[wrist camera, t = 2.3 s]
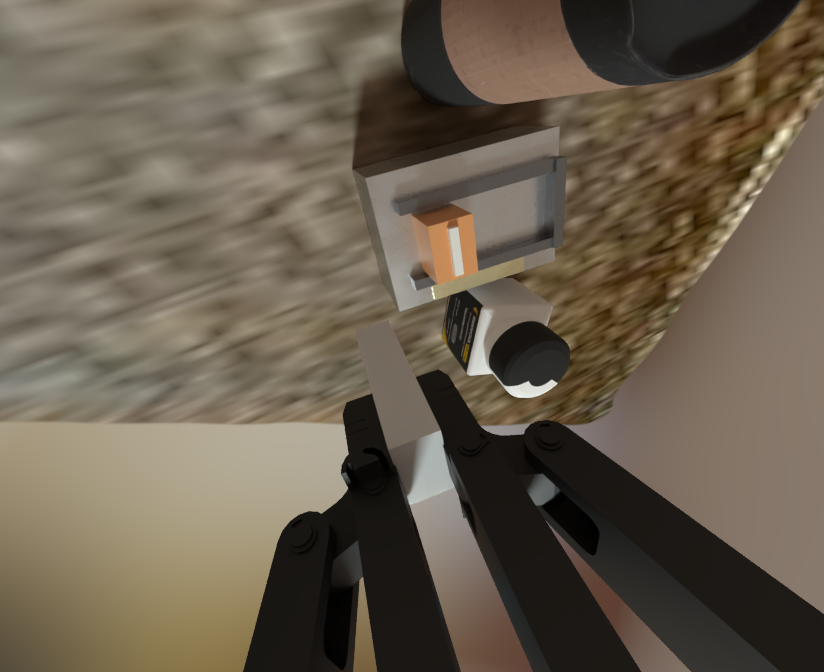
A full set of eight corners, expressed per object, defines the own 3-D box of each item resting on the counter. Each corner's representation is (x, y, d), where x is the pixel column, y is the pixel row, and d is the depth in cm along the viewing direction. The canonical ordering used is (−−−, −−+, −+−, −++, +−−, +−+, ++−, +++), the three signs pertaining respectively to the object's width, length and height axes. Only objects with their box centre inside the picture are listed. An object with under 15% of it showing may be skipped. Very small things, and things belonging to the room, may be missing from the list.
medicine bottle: (451, 276, 34) (515, 336, 24) (513, 276, 36) (595, 332, 26) (440, 338, 37) (492, 413, 28) (497, 335, 40) (565, 403, 30)
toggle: (411, 215, 24) (429, 228, 21) (451, 203, 24) (475, 214, 21) (422, 268, 26) (439, 287, 23) (458, 256, 26) (480, 274, 23)
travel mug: (480, -51, 22) (989, -541, 6) (507, 83, 27) (843, 11, 10) (377, 3, 22) (610, -345, 6) (421, 129, 27) (624, 129, 10)
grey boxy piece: (352, 169, 27) (368, 180, 21) (513, 126, 29) (571, 125, 23) (383, 283, 32) (403, 318, 26) (516, 241, 34) (563, 265, 28)
